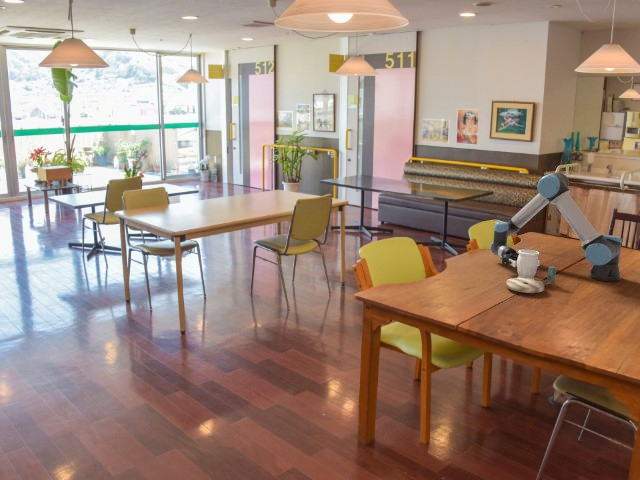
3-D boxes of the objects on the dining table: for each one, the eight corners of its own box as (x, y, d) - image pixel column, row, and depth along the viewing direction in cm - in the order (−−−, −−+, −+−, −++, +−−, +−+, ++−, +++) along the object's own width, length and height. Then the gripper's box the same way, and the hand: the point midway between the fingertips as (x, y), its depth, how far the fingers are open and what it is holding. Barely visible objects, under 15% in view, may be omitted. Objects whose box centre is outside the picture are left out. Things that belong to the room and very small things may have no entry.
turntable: (524, 294, 289) (525, 277, 287) (498, 284, 305) (499, 267, 303) (566, 288, 300) (568, 271, 298) (539, 277, 316) (541, 262, 314)
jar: (537, 282, 313) (540, 254, 309) (516, 281, 315) (519, 253, 311) (534, 277, 323) (537, 249, 319) (514, 275, 325) (517, 248, 321)
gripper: (527, 259, 340) (548, 270, 320) (486, 261, 335) (504, 272, 315) (528, 246, 338) (549, 256, 318) (487, 247, 333) (505, 258, 313)
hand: (527, 264), depth 316 cm, fingers open, 13 cm apart
